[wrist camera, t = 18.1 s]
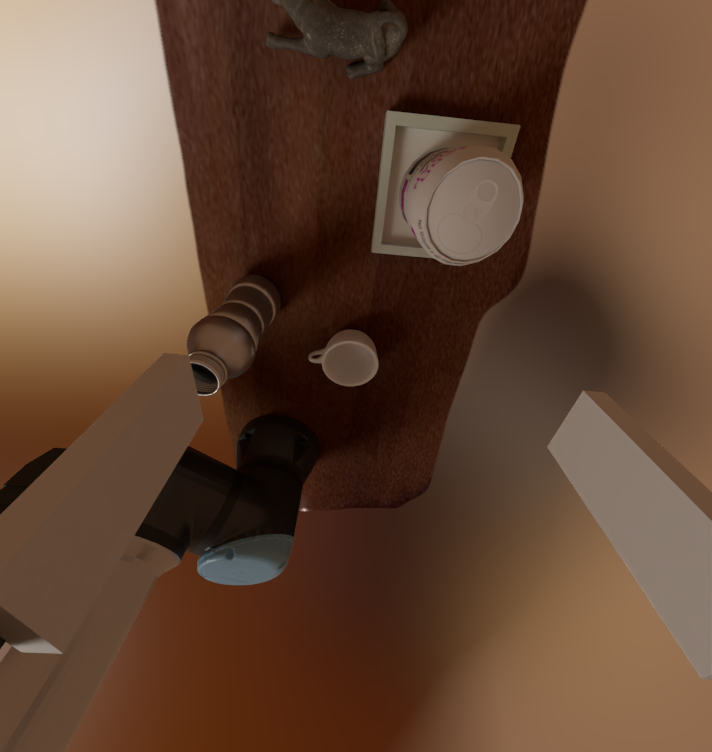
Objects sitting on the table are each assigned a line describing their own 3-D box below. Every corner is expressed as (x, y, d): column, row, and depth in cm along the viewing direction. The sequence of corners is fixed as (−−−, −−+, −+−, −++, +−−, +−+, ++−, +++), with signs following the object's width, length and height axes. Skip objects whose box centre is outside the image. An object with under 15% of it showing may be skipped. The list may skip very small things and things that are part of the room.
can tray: (473, 257, 40) (478, 262, 38) (371, 247, 39) (371, 252, 37) (510, 126, 32) (520, 125, 30) (385, 113, 32) (387, 110, 30)
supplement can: (443, 245, 38) (481, 288, 26) (385, 211, 36) (395, 240, 24) (488, 174, 34) (558, 186, 22) (424, 132, 32) (461, 118, 20)
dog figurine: (409, 6, 28) (423, -35, 22) (391, 91, 31) (398, 76, 25) (273, -40, 26) (247, -98, 20) (269, 54, 30) (245, 29, 24)
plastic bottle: (264, 260, 41) (197, 332, 24) (293, 304, 44) (252, 393, 28) (226, 283, 42) (140, 364, 26) (257, 324, 46) (199, 417, 30)
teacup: (377, 322, 45) (379, 339, 41) (376, 366, 50) (378, 386, 45) (308, 322, 46) (302, 340, 41) (314, 366, 50) (309, 387, 46)
